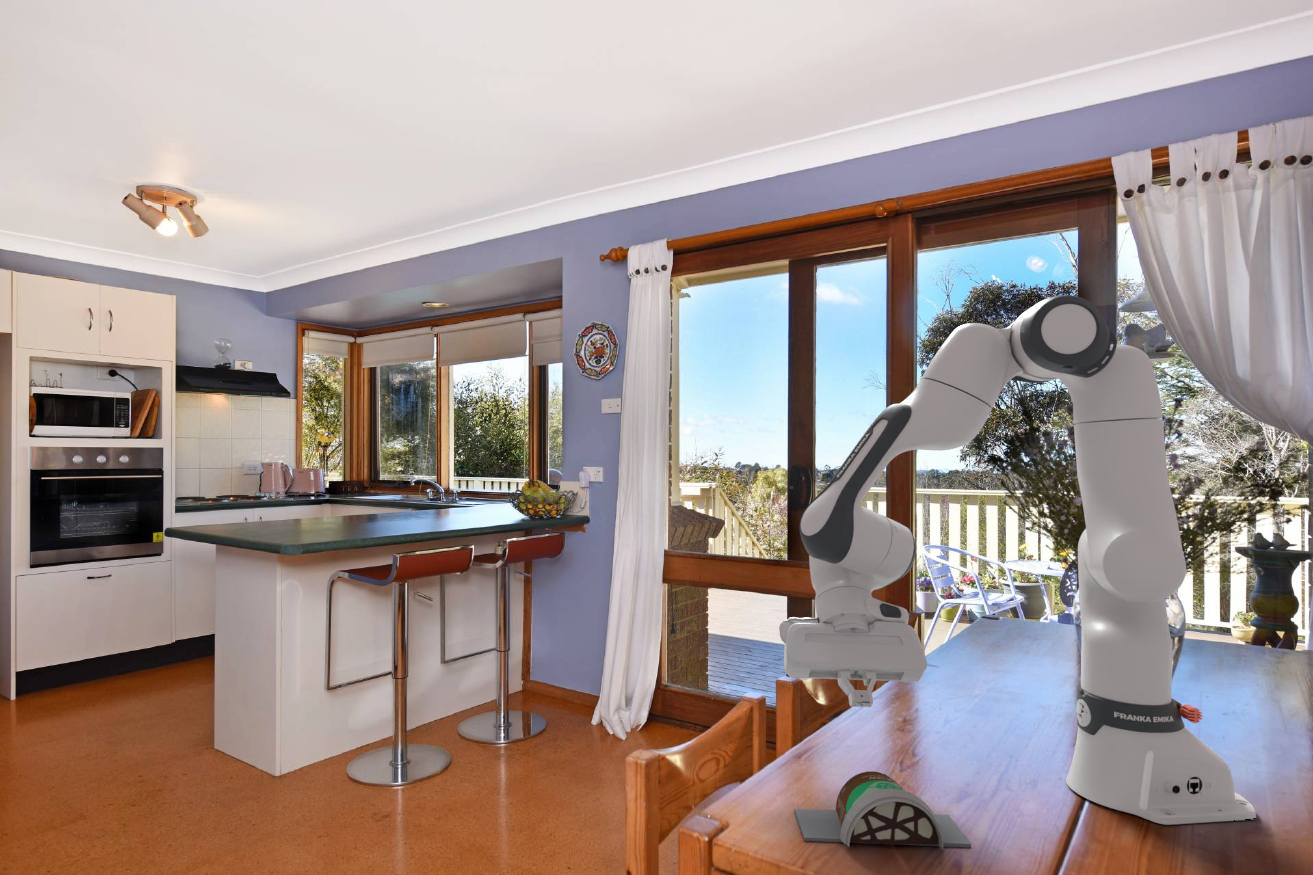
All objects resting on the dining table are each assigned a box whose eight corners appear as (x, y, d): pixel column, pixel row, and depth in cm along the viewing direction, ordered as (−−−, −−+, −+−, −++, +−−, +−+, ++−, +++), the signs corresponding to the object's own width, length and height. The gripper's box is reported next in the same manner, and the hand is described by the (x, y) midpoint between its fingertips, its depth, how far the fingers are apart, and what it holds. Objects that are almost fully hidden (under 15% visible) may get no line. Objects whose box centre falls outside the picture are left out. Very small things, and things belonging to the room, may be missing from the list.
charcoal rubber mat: (948, 817, 100) (948, 814, 100) (970, 847, 92) (970, 843, 92) (794, 811, 100) (794, 808, 100) (804, 840, 93) (804, 837, 93)
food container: (919, 763, 101) (948, 797, 91) (917, 810, 101) (947, 849, 91) (825, 760, 101) (845, 794, 91) (824, 808, 101) (844, 847, 91)
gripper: (780, 605, 115) (789, 691, 105) (917, 609, 114) (940, 696, 104) (775, 628, 119) (784, 713, 109) (907, 632, 119) (928, 717, 109)
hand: (861, 704), depth 107 cm, fingers closed
